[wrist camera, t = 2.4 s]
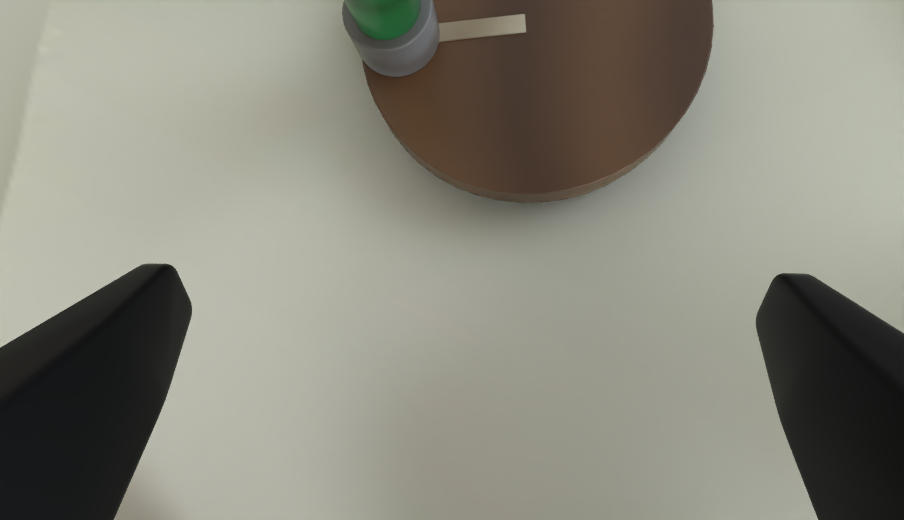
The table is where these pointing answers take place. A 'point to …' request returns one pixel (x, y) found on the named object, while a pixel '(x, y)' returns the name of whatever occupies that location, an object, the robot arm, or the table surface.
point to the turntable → (531, 86)
